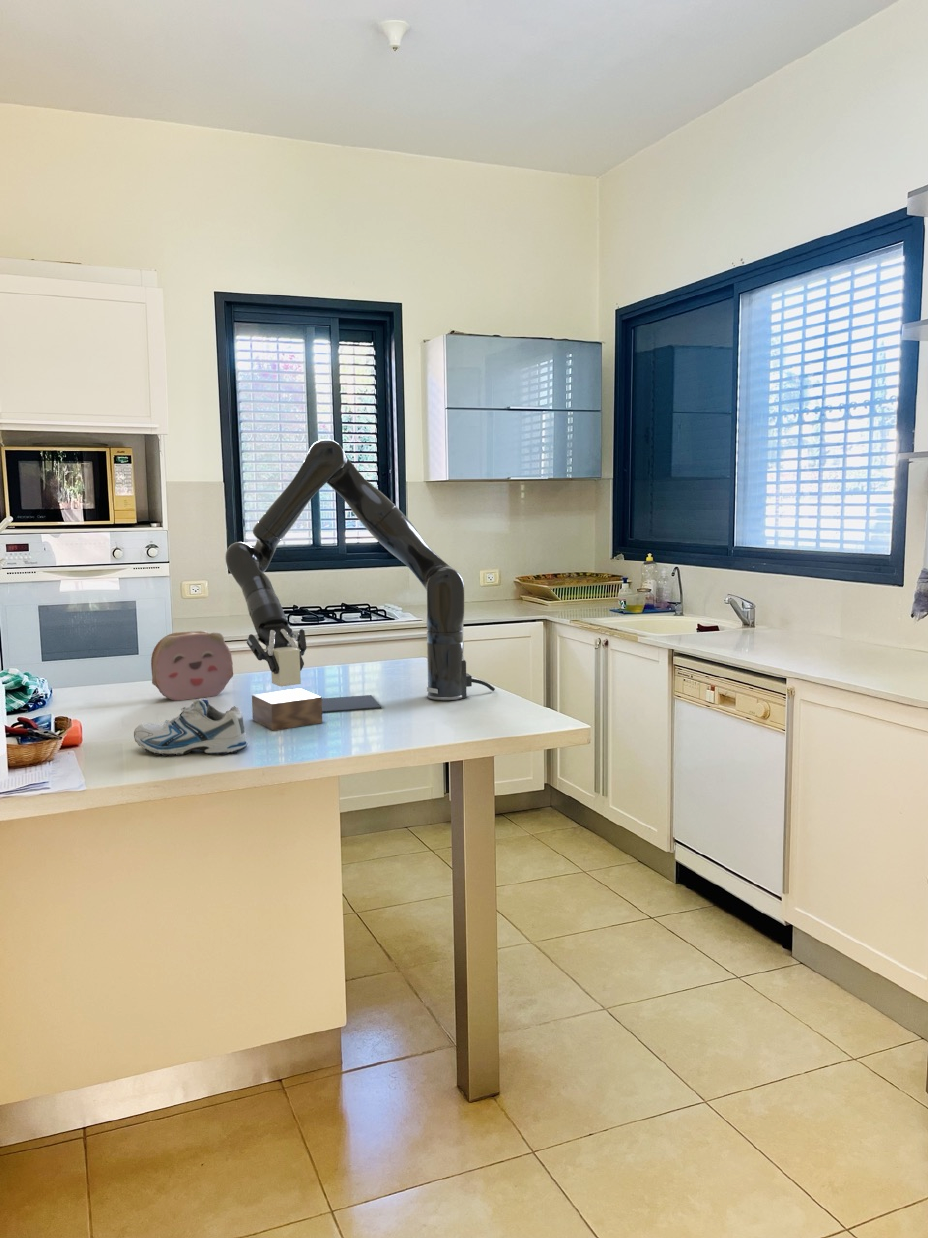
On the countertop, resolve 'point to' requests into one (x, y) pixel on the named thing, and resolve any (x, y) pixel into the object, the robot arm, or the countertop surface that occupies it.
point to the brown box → (287, 709)
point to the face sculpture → (191, 665)
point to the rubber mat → (349, 703)
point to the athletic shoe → (195, 732)
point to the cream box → (287, 666)
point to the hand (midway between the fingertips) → (288, 670)
